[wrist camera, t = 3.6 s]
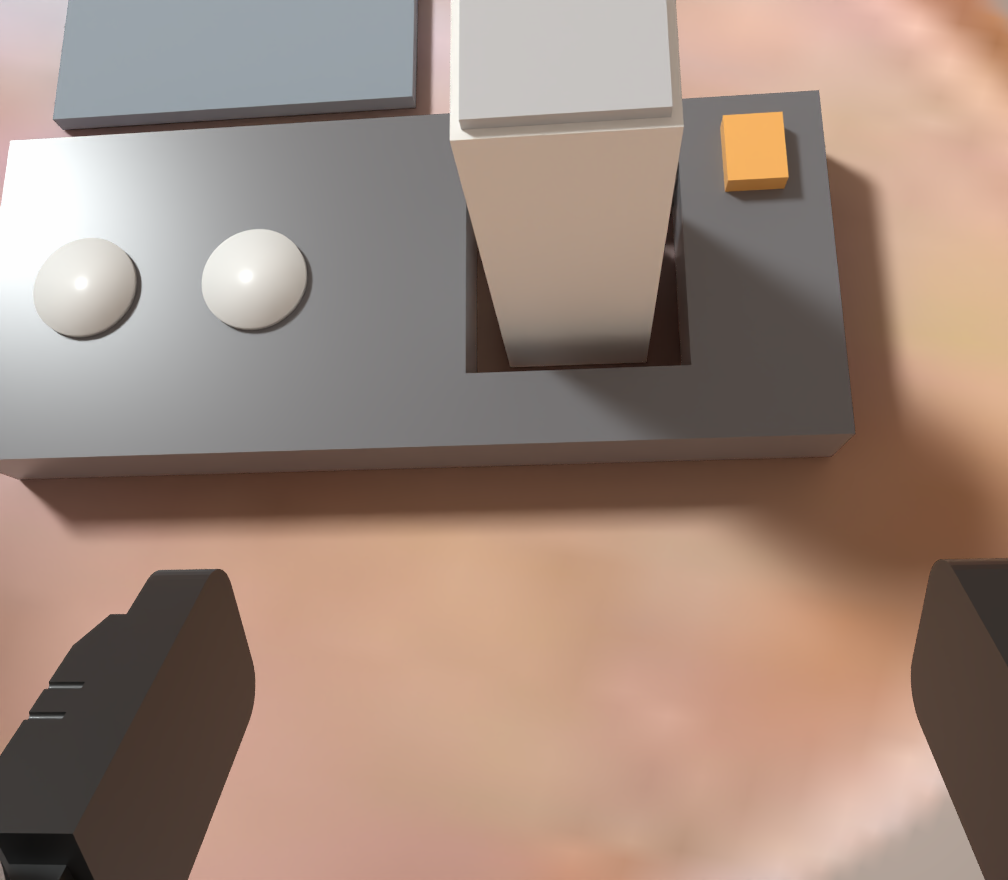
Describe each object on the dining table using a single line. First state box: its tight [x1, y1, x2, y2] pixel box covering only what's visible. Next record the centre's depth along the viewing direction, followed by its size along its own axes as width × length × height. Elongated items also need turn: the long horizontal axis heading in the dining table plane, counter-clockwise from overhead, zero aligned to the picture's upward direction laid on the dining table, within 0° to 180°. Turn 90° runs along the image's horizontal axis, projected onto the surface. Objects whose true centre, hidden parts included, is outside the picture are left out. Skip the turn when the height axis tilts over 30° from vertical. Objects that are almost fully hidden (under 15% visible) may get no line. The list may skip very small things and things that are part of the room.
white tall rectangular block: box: [450, 0, 684, 367], centre depth 22 cm, size 4×4×12 cm
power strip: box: [0, 90, 855, 479], centre depth 27 cm, size 28×10×3 cm, turn 90°
